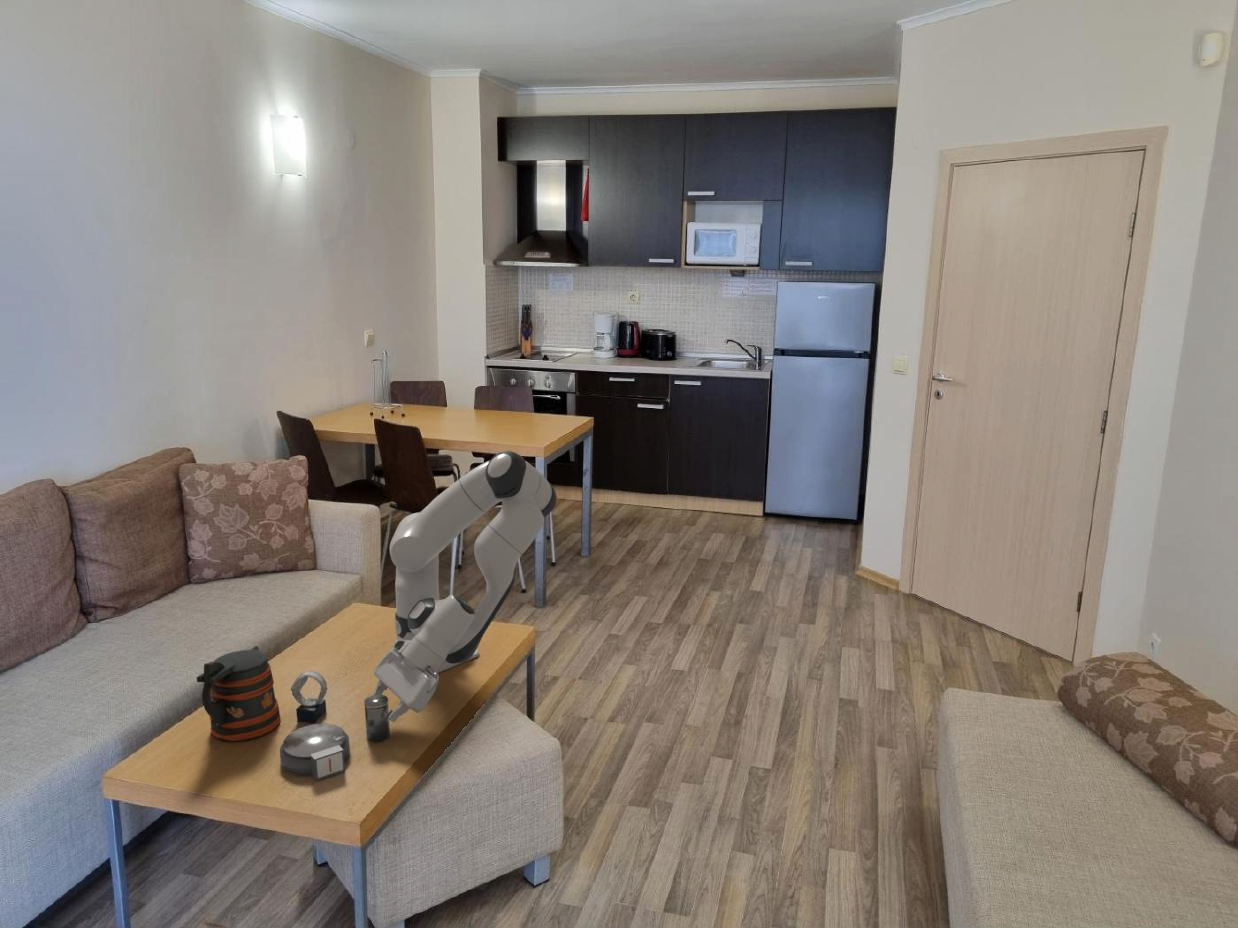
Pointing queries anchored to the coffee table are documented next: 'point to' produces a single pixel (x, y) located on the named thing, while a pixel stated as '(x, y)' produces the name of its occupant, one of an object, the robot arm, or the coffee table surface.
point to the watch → (311, 706)
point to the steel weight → (377, 718)
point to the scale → (318, 762)
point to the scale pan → (313, 740)
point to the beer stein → (240, 695)
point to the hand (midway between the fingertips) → (381, 710)
